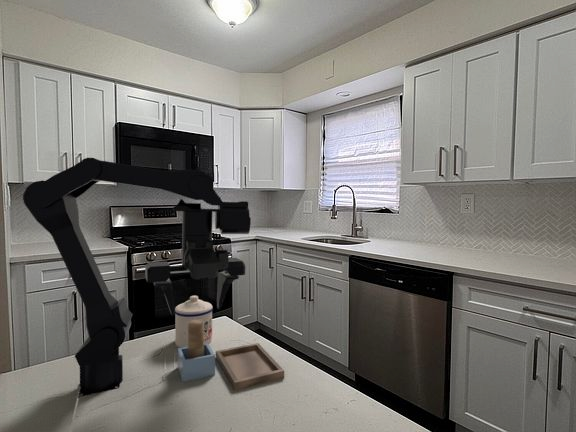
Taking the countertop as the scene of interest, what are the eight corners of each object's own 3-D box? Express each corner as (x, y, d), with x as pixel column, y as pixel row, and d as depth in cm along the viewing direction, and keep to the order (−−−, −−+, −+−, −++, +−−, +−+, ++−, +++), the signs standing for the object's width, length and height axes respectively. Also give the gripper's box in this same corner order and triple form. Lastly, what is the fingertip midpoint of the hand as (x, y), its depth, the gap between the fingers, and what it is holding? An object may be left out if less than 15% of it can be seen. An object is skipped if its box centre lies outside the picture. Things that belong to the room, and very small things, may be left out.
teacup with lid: (207, 352, 76) (207, 302, 76) (168, 351, 76) (168, 301, 76) (219, 331, 88) (219, 288, 88) (185, 331, 88) (185, 288, 88)
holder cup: (182, 385, 62) (182, 361, 62) (177, 369, 68) (177, 348, 68) (215, 377, 65) (215, 355, 65) (207, 363, 71) (207, 343, 71)
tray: (234, 393, 60) (234, 382, 60) (215, 360, 72) (215, 351, 72) (284, 380, 64) (284, 370, 64) (258, 351, 77) (258, 342, 77)
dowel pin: (189, 375, 65) (189, 325, 64) (187, 368, 67) (187, 320, 67) (205, 372, 66) (205, 323, 65) (201, 365, 69) (201, 318, 68)
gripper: (150, 240, 54) (149, 333, 55) (256, 237, 63) (254, 318, 63) (145, 233, 64) (144, 312, 65) (237, 232, 73) (236, 301, 73)
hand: (196, 311), depth 66 cm, fingers open, 9 cm apart
